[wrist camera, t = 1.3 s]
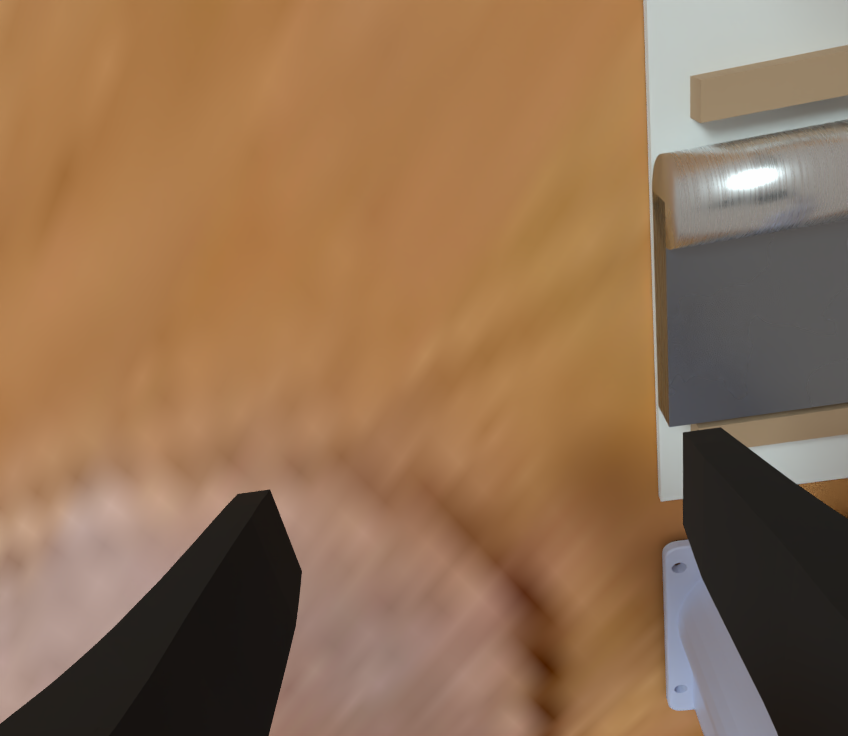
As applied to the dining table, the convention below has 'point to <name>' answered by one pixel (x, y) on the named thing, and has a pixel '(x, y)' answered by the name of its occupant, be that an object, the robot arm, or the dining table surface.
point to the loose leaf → (752, 275)
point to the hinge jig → (736, 119)
